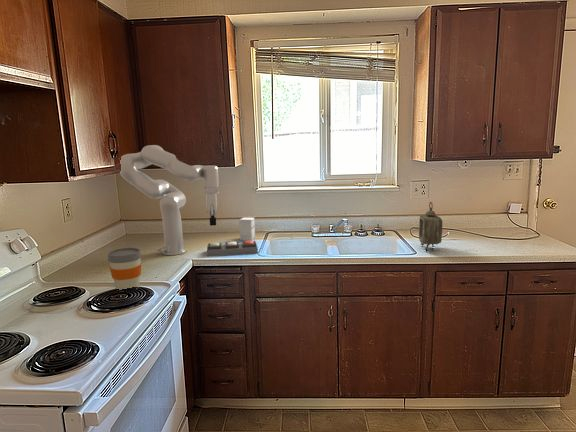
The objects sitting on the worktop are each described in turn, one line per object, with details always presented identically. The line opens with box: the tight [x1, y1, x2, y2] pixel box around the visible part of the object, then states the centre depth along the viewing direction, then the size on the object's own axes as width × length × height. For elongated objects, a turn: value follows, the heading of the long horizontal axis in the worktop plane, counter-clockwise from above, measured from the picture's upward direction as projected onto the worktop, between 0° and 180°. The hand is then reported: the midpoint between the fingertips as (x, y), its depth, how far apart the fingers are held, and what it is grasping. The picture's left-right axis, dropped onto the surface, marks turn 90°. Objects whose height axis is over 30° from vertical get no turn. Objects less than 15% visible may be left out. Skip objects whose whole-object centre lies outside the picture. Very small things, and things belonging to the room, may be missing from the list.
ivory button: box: [227, 241, 238, 245], centre depth 214 cm, size 5×5×2 cm
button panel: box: [206, 240, 259, 257], centre depth 214 cm, size 26×10×4 cm, turn 99°
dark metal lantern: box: [418, 201, 443, 251], centre depth 211 cm, size 14×9×25 cm, turn 171°
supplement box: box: [238, 217, 256, 241], centre depth 239 cm, size 7×7×13 cm
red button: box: [244, 240, 255, 244], centre depth 215 cm, size 5×5×2 cm
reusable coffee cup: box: [107, 247, 142, 290], centre depth 165 cm, size 13×13×15 cm
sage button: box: [210, 242, 220, 246], centre depth 212 cm, size 5×5×2 cm
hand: (213, 225), depth 210 cm, fingers closed
